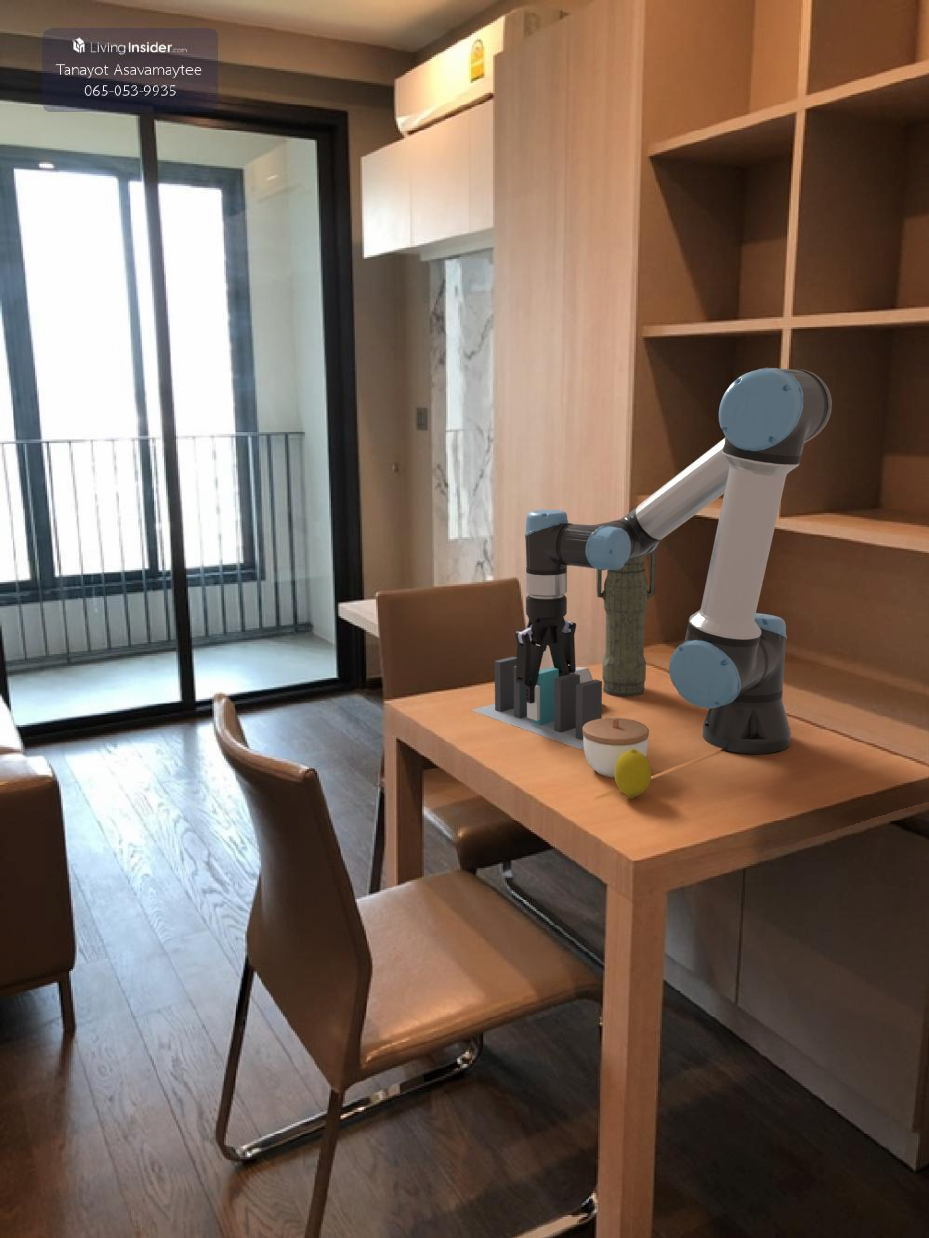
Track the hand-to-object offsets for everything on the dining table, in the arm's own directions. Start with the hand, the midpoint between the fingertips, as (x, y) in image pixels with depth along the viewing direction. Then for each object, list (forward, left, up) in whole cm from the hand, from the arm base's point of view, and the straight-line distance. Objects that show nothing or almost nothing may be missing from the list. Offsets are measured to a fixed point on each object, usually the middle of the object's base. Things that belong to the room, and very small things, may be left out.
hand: (546, 714), depth 190 cm
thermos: (+5, -27, -2) cm, 27 cm away
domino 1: (+11, 0, -1) cm, 11 cm away
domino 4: (-11, 0, -1) cm, 11 cm away
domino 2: (+6, 0, -1) cm, 6 cm away
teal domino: (0, 0, -1) cm, 1 cm away
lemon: (-34, +15, -2) cm, 38 cm away
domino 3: (-5, 0, -1) cm, 6 cm away
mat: (0, 0, -2) cm, 2 cm away
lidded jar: (-25, +9, -2) cm, 27 cm away
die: (+5, -12, -2) cm, 13 cm away
